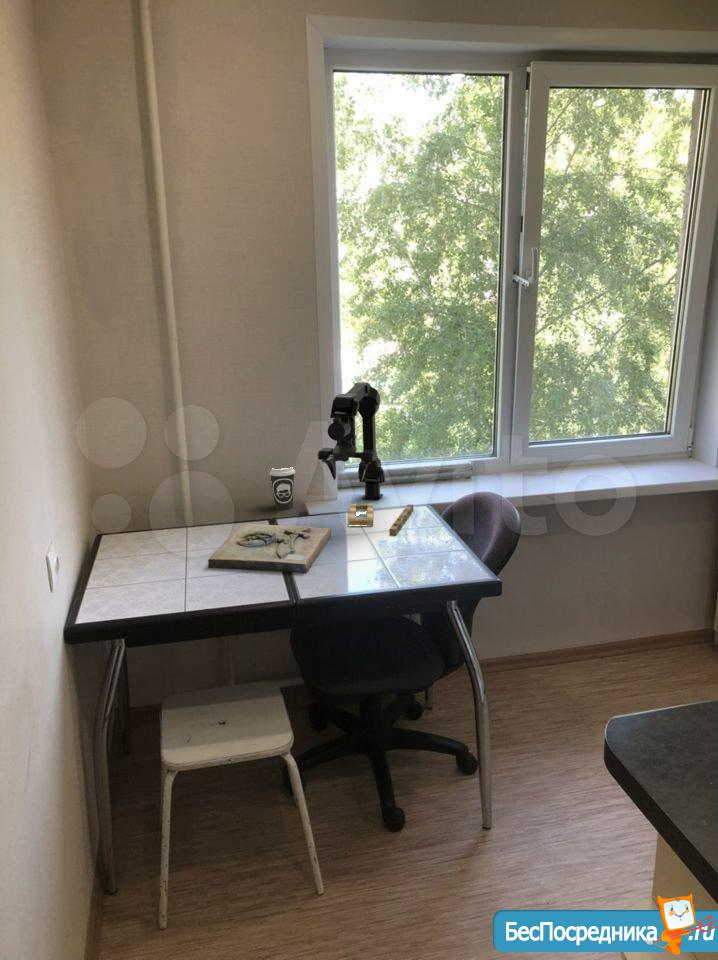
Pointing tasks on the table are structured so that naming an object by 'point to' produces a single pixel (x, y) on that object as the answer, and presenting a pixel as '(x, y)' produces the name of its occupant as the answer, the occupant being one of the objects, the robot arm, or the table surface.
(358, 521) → the frame
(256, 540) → the plaque
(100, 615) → the table surface
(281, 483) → the coffee cup
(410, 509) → the rail
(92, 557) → the table surface
